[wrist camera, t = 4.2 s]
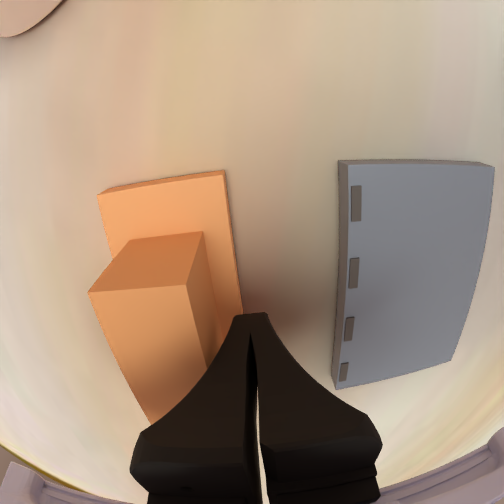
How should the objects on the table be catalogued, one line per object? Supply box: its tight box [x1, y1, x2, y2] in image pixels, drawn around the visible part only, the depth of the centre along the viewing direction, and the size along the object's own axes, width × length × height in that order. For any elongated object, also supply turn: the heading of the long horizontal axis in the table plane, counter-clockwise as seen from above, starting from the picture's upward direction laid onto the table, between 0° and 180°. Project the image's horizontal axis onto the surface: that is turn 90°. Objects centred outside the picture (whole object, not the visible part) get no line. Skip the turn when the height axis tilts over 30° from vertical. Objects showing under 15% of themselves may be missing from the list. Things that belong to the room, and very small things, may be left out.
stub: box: [87, 170, 243, 425], centre depth 12 cm, size 5×12×5 cm, turn 6°
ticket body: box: [331, 160, 495, 390], centre depth 13 cm, size 8×12×1 cm, turn 6°
